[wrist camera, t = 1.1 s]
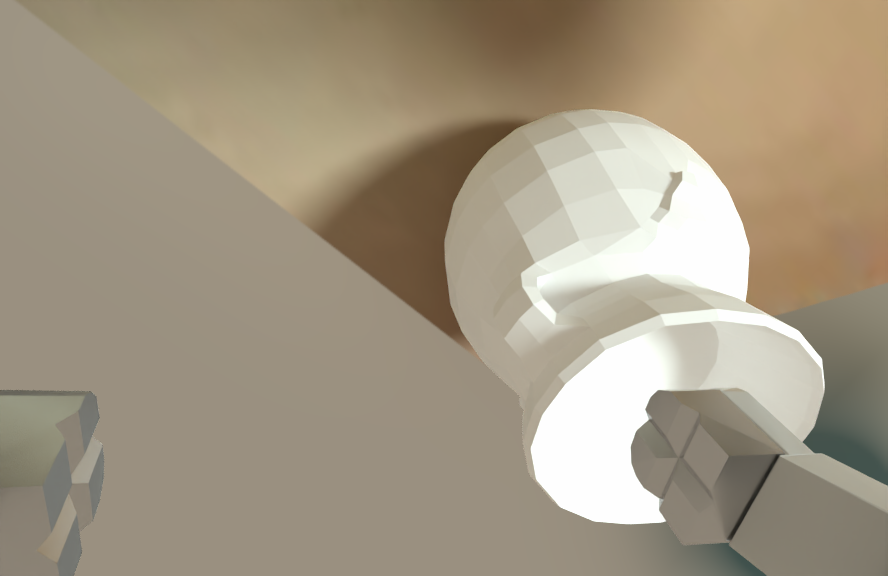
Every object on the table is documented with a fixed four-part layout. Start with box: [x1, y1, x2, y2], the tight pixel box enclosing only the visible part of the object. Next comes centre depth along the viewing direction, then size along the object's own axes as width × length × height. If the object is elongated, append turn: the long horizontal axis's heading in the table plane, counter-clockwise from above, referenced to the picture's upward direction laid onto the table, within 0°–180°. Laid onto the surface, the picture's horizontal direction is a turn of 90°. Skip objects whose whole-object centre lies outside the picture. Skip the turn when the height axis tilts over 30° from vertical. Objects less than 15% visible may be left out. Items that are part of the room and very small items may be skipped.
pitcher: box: [444, 109, 824, 524], centre depth 36 cm, size 19×18×25 cm
